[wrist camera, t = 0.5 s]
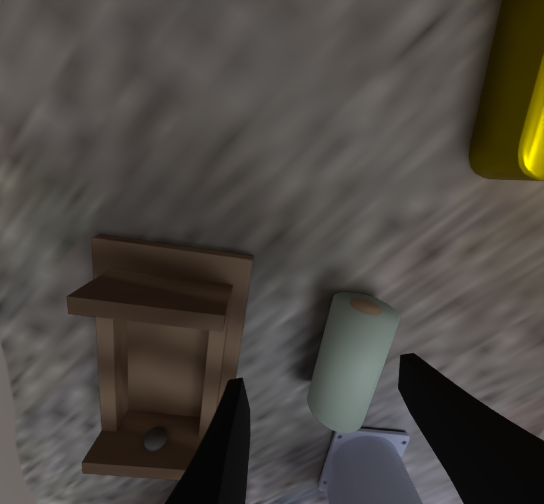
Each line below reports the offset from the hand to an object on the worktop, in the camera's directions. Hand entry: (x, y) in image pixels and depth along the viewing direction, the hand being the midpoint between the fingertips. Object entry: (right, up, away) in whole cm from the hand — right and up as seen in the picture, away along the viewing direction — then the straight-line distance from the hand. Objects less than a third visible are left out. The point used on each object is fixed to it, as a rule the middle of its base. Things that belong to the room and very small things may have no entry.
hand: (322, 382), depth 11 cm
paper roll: (+4, -3, +10) cm, 11 cm away
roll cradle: (-11, -3, +11) cm, 16 cm away
